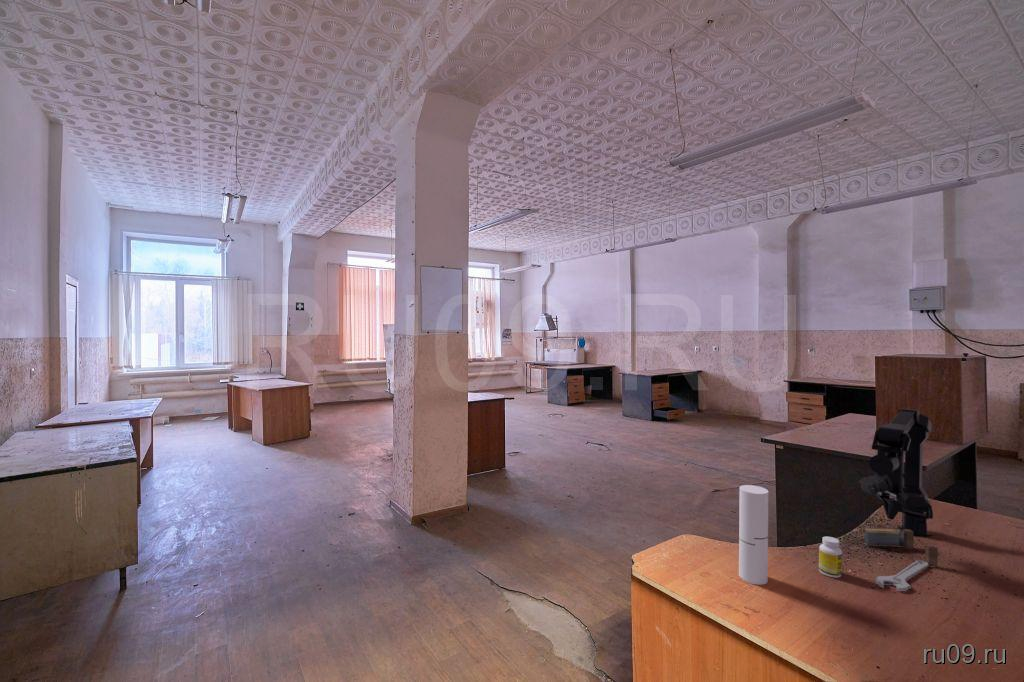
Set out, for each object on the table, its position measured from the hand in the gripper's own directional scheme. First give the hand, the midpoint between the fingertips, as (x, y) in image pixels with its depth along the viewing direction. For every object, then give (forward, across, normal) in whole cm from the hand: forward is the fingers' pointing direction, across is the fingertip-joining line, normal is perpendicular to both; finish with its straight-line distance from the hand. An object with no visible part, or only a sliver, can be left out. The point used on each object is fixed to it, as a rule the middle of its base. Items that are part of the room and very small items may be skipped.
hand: (890, 519), depth 141 cm
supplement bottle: (+12, +10, -26) cm, 30 cm away
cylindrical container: (+12, +12, -49) cm, 52 cm away
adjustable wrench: (+12, +13, -5) cm, 18 cm away
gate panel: (+11, -6, +3) cm, 12 cm away
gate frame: (+11, +1, +8) cm, 14 cm away
